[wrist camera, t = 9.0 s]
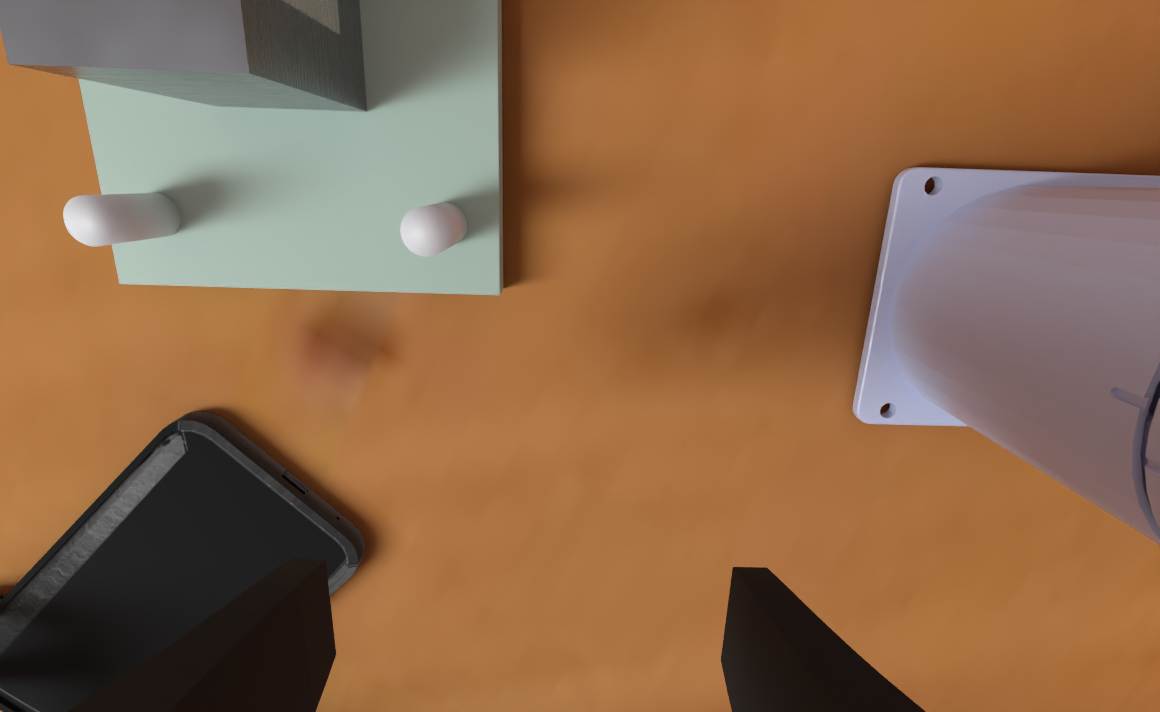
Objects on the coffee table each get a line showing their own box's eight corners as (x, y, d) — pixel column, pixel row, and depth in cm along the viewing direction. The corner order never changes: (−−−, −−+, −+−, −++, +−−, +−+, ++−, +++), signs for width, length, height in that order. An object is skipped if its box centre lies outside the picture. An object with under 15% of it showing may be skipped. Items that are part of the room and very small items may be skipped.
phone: (-64, 669, 21) (183, 406, 18) (-34, 646, 22) (205, 393, 19) (121, 785, 23) (374, 561, 20) (142, 758, 24) (384, 541, 21)
